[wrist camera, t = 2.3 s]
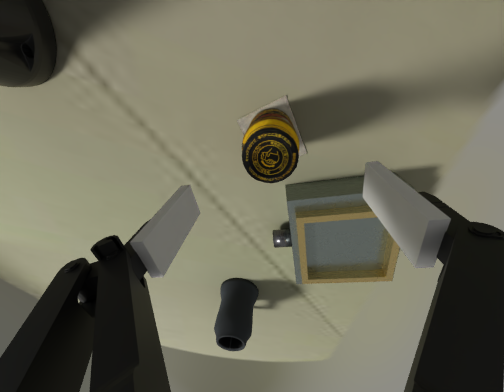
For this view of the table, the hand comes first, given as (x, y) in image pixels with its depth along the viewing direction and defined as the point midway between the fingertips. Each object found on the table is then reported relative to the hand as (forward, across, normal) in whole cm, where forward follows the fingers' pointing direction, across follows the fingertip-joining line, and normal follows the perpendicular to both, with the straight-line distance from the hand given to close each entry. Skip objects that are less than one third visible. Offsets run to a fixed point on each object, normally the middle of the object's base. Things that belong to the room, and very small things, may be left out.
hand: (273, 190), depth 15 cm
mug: (+16, -13, -36) cm, 41 cm away
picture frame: (+16, +7, -17) cm, 24 cm away
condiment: (+16, 0, 0) cm, 16 cm away
